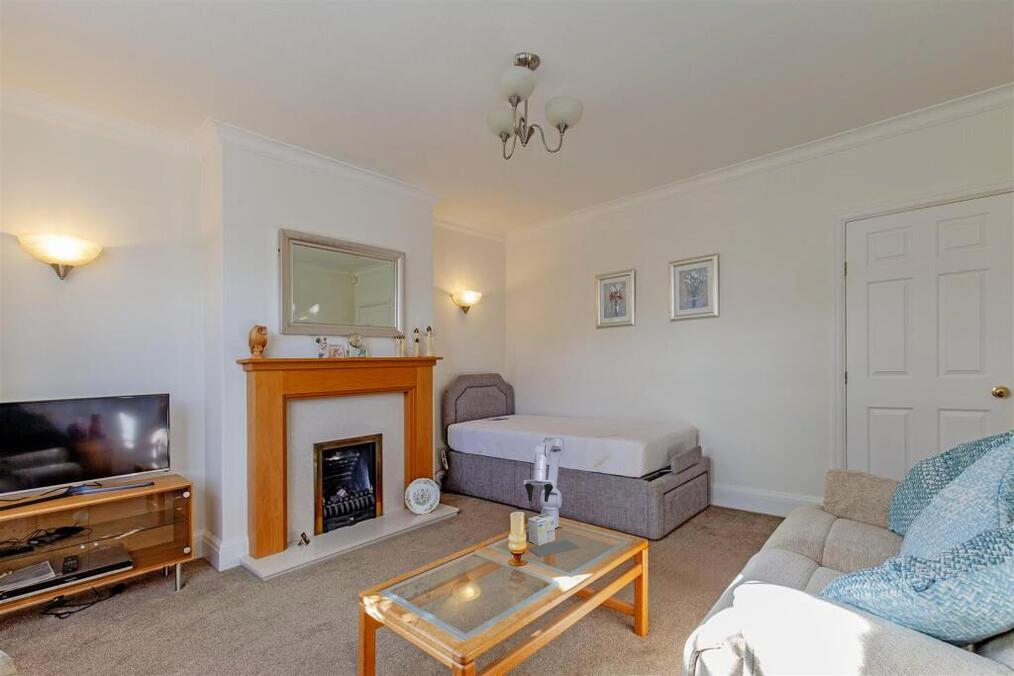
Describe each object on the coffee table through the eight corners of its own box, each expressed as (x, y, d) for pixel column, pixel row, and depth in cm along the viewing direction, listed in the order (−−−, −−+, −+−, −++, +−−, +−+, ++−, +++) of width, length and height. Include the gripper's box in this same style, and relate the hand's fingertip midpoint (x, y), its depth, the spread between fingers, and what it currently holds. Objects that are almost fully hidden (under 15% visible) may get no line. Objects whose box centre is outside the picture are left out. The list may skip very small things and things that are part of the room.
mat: (527, 548, 207) (527, 548, 207) (566, 540, 215) (566, 539, 215) (539, 556, 197) (539, 556, 197) (580, 547, 206) (580, 547, 206)
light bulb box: (545, 536, 221) (544, 512, 222) (555, 540, 216) (554, 515, 217) (528, 542, 214) (527, 518, 215) (538, 546, 209) (537, 521, 210)
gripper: (522, 468, 221) (519, 499, 215) (551, 469, 215) (549, 500, 209) (528, 471, 226) (526, 501, 221) (557, 472, 220) (555, 503, 215)
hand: (538, 501), depth 215 cm, fingers open, 7 cm apart
